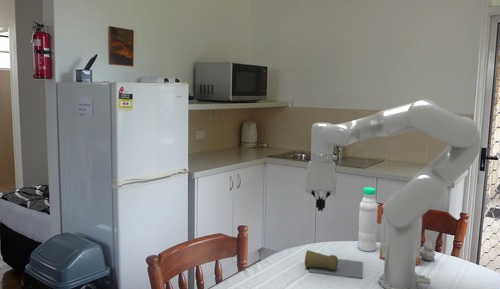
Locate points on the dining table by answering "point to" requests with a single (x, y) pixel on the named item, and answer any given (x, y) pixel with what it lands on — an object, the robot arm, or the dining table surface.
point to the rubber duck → (427, 251)
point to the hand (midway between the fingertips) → (320, 209)
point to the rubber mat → (342, 269)
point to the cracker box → (383, 238)
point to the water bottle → (367, 221)
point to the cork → (320, 260)
